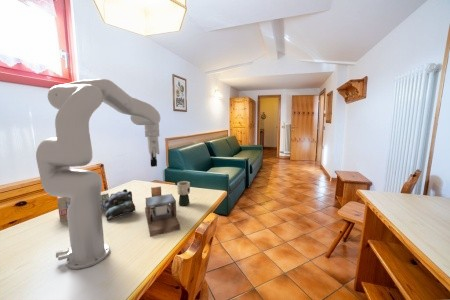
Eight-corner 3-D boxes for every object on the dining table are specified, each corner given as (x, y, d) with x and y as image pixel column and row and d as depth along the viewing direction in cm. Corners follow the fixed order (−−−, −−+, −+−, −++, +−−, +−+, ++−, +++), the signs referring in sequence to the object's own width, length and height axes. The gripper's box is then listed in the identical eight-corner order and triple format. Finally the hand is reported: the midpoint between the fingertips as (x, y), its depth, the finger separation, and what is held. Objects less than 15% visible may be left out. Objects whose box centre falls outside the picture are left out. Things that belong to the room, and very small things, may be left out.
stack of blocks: (107, 205, 113) (105, 185, 111) (110, 209, 108) (108, 188, 107) (59, 217, 99) (56, 194, 97) (59, 222, 94) (56, 197, 93)
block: (156, 219, 92) (155, 207, 91) (155, 214, 96) (154, 203, 95) (167, 217, 94) (166, 205, 93) (165, 212, 98) (165, 201, 97)
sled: (152, 221, 89) (151, 201, 88) (148, 204, 107) (147, 188, 106) (171, 217, 93) (171, 198, 92) (164, 201, 111) (164, 185, 110)
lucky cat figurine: (99, 222, 94) (95, 194, 97) (113, 220, 105) (109, 195, 109) (130, 212, 95) (125, 184, 98) (141, 211, 106) (136, 186, 110)
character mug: (190, 207, 110) (189, 185, 108) (177, 208, 109) (176, 186, 107) (190, 200, 121) (189, 179, 119) (178, 201, 120) (177, 180, 118)
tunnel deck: (150, 236, 82) (148, 212, 80) (145, 211, 105) (144, 192, 104) (180, 229, 87) (179, 206, 86) (169, 207, 111) (168, 188, 109)
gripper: (161, 134, 104) (162, 168, 106) (157, 133, 117) (159, 163, 120) (146, 135, 101) (148, 169, 103) (144, 133, 114) (145, 164, 116)
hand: (153, 166), depth 111 cm, fingers closed
